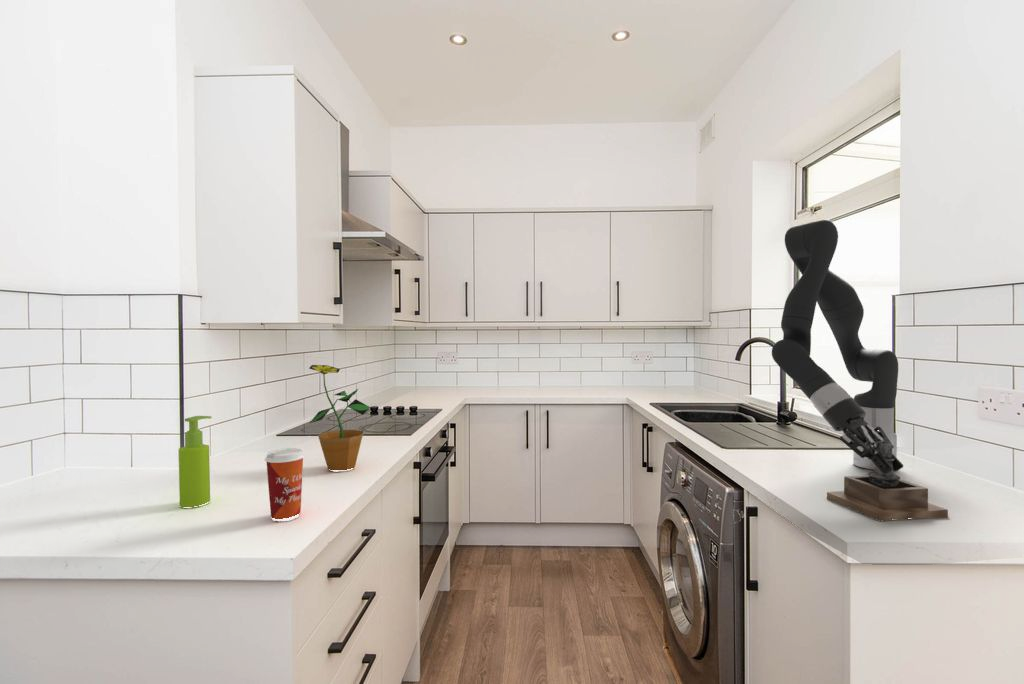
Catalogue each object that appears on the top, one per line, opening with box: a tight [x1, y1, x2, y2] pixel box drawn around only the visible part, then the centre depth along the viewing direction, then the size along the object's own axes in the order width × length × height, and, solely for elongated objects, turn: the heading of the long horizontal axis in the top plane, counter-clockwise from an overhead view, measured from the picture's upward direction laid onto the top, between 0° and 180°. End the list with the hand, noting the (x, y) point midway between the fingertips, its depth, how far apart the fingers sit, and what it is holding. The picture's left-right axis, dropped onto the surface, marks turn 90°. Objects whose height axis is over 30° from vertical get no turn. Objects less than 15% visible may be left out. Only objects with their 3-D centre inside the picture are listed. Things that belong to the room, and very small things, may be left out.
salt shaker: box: [866, 437, 902, 489], centre depth 109 cm, size 6×6×12 cm
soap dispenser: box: [178, 415, 212, 507], centre depth 114 cm, size 6×7×20 cm
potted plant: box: [308, 364, 371, 470], centre depth 142 cm, size 18×19×30 cm
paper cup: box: [264, 447, 305, 519], centre depth 106 cm, size 8×8×14 cm
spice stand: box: [826, 474, 949, 522], centre depth 109 cm, size 16×14×6 cm
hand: (894, 470), depth 107 cm, fingers closed on salt shaker, 3 cm apart
